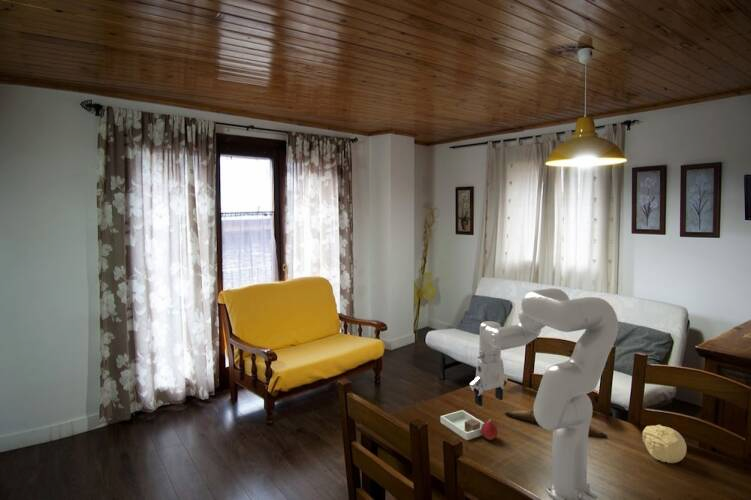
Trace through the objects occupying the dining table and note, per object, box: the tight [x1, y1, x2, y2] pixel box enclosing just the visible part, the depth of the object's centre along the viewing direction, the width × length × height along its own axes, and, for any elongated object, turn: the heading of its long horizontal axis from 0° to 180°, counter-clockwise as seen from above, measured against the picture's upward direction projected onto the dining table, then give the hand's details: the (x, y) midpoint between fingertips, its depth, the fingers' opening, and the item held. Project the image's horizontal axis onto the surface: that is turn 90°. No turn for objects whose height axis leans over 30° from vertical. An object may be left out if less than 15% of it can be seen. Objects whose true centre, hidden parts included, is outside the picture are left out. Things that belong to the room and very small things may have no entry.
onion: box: [481, 419, 499, 441], centre depth 166 cm, size 6×6×8 cm
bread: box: [504, 409, 608, 438], centre depth 176 cm, size 38×5×5 cm, turn 58°
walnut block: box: [465, 419, 480, 432], centre depth 171 cm, size 4×4×4 cm
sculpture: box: [642, 424, 687, 464], centre depth 153 cm, size 11×12×11 cm
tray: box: [439, 409, 485, 441], centre depth 175 cm, size 16×11×3 cm
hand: (488, 401), depth 165 cm, fingers open, 9 cm apart
